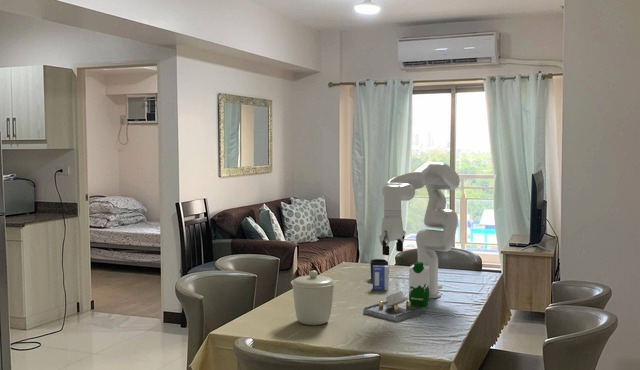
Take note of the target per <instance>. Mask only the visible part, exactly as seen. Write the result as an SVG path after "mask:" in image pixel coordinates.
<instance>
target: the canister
mask: <svg viewBox="0 0 640 370" xmlns="http://www.w3.org/2000/svg"><path fill="white" fill-rule="evenodd" d="M290 284H291V286H292V291H293V292H292V293H293V300H294V309H295V317H296V319H297V321H298V322H299V323H300V324H303V325H308V326H320V325H323V324H326V323H328V322H329V321H330V318H331V314H332V305H333V296H334V290H335V289H334V288H335V287H334V286H335V285H336V281H335V280H334V279H333V278H331V277H329V276H327V275H326V276H324V275H319V274H318V271H317V270H310V271H309V272H308V275H302V276H297V277H296V278H294V279H293V280H291V281H290Z"/></svg>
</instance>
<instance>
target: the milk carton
mask: <svg viewBox="0 0 640 370" xmlns="http://www.w3.org/2000/svg"><path fill="white" fill-rule="evenodd" d="M408 271H409V272H408V273H409V275H408V301H411V305H415V306H420V307H423V306H424V307H425V308H426V309H427V307H428V306H429V301H430V298H429V289H430V271H429V266H425V265H423V263H422V262H418V261H415V262H413V264H412V265H410V267H409V269H408Z"/></svg>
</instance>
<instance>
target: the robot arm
mask: <svg viewBox="0 0 640 370" xmlns="http://www.w3.org/2000/svg"><path fill="white" fill-rule="evenodd" d="M424 186H425V187H426V190H427V194H428V202H427V205H426V206H427V207H426V211H425V214H424V217H423V218H424V219H423V222H424V225H425V227H427V228H426V229H421V230H419V231H417V233H416V236H415V241H416V242H415V243H416V250H417V262H422V263H423V265H425V266H429V271H430V289H429V299H438V298H440V297H442V293H441V292H440V290H441V289H443V287H444V286H443V285H442V284H439V257H438V255H437V253H436V251H439V252H449V251H451V250H452V248H453V246H454V242H455V241H454V240H455V238H456V237H455V236H456V233H457V229H458V223H459V219H458V218H459V217H458V214H457V212H456V211H455V210H453V209H447V208H446V207H447V198H446V196H445V194H444V192H443V190H445V191H448V190H449V191H454V190H456V189H457V188H458V187H459V186H460V176H459V173H457V172H456V170H455V169H453V167H451V166H450V165H449V164H448V163H445V162H440V161H438V162H437V161H435V162H434V161H433V162H432V161H427V162H423V163H421V164H420V165H419V166H417V167H416V168H415V169H414V170H412V171H410V172H408V173H404V174H400V175H397V176H395V177H392V178H390V179H389V180H388V181H387V182H386V183H385V184H384V185H383V187H382V195H383V217H382V221H381V230H380V231H381V234H380V235H379V237H378V238H379V241H380V245H381V246H382V255H383V256H390V246H389V245H390V242H394V241H396V243H395V244H396V248H395V249H396V252H400V253H402V252H404V242H405V238H406V234H407V233H406V230H404V227H403V225H404V224H403V216H402V201H411V200H412V199H413V198H414V197H415V195H416V190H418V189H419V190H420V189H422V188H424ZM428 228H431V229H428ZM438 284H439V285H438Z"/></svg>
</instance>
